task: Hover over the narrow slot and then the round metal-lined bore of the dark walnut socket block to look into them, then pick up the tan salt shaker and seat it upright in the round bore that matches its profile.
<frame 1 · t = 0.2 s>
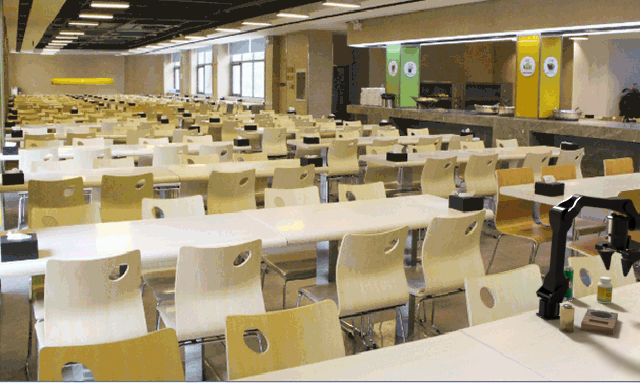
hand: (616, 273, 237), 14 cm above the table, fingers open, 9 cm apart
soda can: (565, 296, 257), on the table
socket block: (599, 324, 223), on the table
tan salt shaker: (566, 330, 217), on the table
supplement bottle: (603, 302, 250), on the table
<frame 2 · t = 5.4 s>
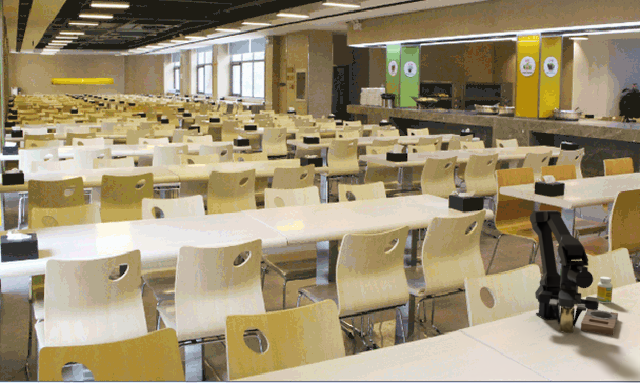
hand: (566, 324, 217), 2 cm above the table, fingers closed on tan salt shaker, 4 cm apart
tan salt shaker: (566, 330, 217), on the table, touching gripper
everything else where it was.
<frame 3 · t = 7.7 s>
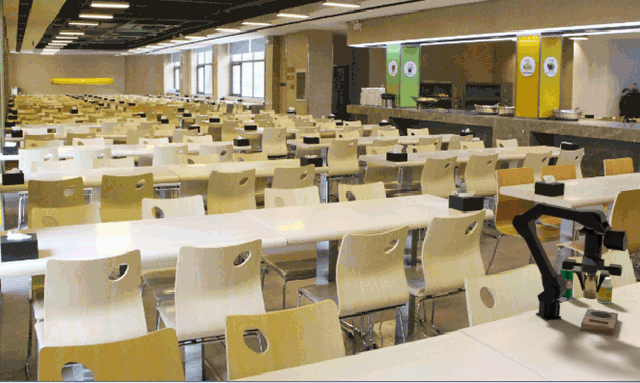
hand: (590, 291, 221), 12 cm above the table, fingers closed on tan salt shaker, 4 cm apart
tan salt shaker: (589, 297, 221), point 10 cm above the table, touching gripper
everything else where it was.
when the fingers open (4 cm above the table, at t = 9.8 s): tan salt shaker drops 2 cm, resting in socket block.
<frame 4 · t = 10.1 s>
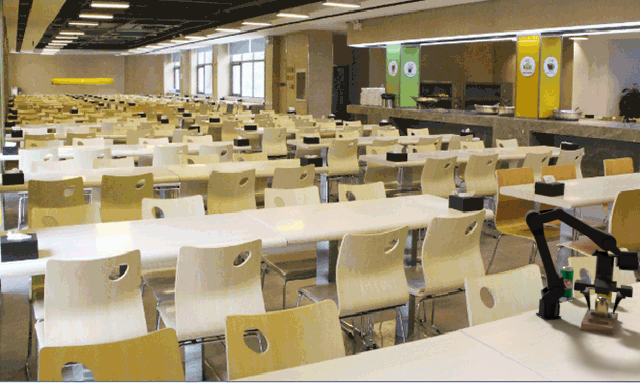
hand: (601, 311, 226), 4 cm above the table, fingers open, 7 cm apart
tan salt shaker: (600, 321, 227), resting in socket block
everything else where it was.
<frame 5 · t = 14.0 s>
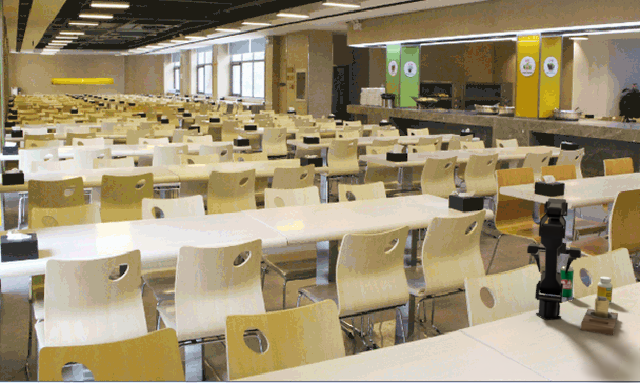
hand: (552, 273, 241), 13 cm above the table, fingers open, 9 cm apart
nothing on the table moved.
at the end: tan salt shaker 0.1 cm from the target spot, resting in socket block; tan salt shaker tilted 0°; the gripper is holding nothing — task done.
